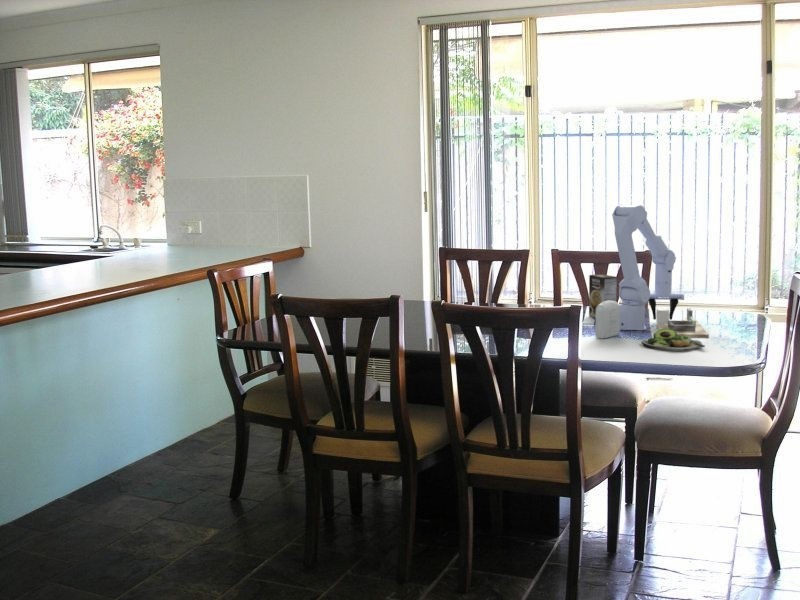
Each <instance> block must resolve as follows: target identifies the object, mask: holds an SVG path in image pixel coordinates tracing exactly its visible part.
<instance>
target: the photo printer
mask: <svg viewBox="0 0 800 600" xmlns="http://www.w3.org/2000/svg"><path fill="white" fill-rule="evenodd" d="M619 304H620V303H618V302H617V300H616V301H610V300H608V301H604V302H602V303H600V304H599V305H598V306H597V307H596V318H595V330H594V331H595V332H594V333H595V338H597V339H600V338H602V340H603V338H604V339H607V338H608V339H609V338H610V337H615V336H619V335H620V330H619V315H620V307H619Z"/></svg>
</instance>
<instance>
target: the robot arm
mask: <svg viewBox="0 0 800 600" xmlns="http://www.w3.org/2000/svg"><path fill="white" fill-rule="evenodd" d="M611 216H612V221H613V225H614V236H615V242H616V246H617V251H618V256H619V261H620V266H621V271H622V275H623V279H622V280H621V281H620V282H619V284H618V287H619V290H618V295H619V298H620V300H621V301H622V302H621V303H618V304H619V307H620V315H619V331H621V330H622V331H647V327H646V325H645V316H646V313H645V312H646V305H647V303H648V304H649V305H650V310H651V312H652V319H653V320H655V321H656V310H657V300H659V301H660V300H668V301H669V321H673V316H674V313H675V310H676V308H677V306H678V304H679V300H680V301H685V294H684V293H672V283H673V282H672V280H673V279H672V278H673V270H674V269H675V267H674V266H675V263H676V260H677V257H676V254H675V252H674V251H673V250H671V249H669V248H668V246H667V245H666V244H665V242H664V240H663V238H662V236H661V235H660V234H657V233H655V232H654V229H653V227H652V226H651V224H650V222H649V220H648V212H647V211H646V208H645V206H643V205H641V204H637V205H633V204H632V205H631V204H628V205H627V204H618V205H616V206H615V208H614V210H613V212H612V214H611ZM637 230H638V231H639V232H640V233H641V235H642V236H643V238H644V239H645V246H646V247H647V249H648V250H649V252H650V253H651V254H650V255H651V261H652V262H653V264H655V274H654V275H655V279H654V281H655V282H654V283H655V284H654V293H651V291H650V288H649V286H648V283H647V281H646V280H645V279H644V278H643V277H642V276H641V275H640V271H639V266H638V261H637V255H636V250H635V249H636V248H635V245H634V241H633V233H634V232H636V231H637Z"/></svg>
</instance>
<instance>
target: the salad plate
mask: <svg viewBox="0 0 800 600" xmlns="http://www.w3.org/2000/svg"><path fill="white" fill-rule="evenodd" d="M640 343H641V345H642V346H643V347H644V348H648V349H653V350H658V351H667V352H689V351H692V350H693V349H694V350H698V349H699V348H705V347H706V345H704V344H703V343H702V341H701V340H698V339H692V338H691V337H687V336H680V335H679V336H678V335H677V333H676V331H674V330H672V329H661V330H658V329H657V330H656V331H655V332H654V333H653V337H650V338H646V339H641V342H640Z"/></svg>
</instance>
